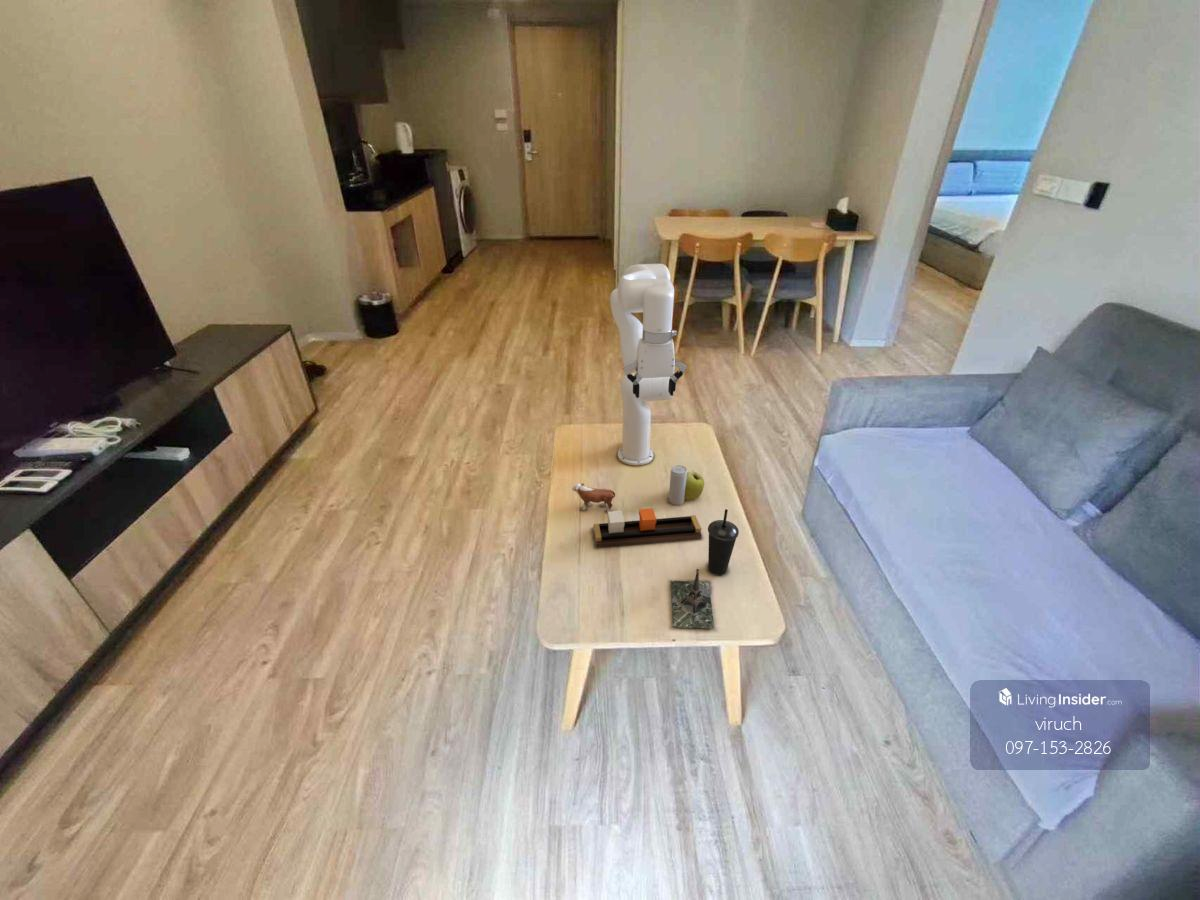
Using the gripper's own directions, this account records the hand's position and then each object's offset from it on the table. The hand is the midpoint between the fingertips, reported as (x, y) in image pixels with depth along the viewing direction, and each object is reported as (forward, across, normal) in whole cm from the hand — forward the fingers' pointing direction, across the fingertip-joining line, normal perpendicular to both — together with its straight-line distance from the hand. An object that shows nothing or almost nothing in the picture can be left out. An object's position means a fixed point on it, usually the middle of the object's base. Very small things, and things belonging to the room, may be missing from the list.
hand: (653, 394), depth 149 cm
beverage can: (+37, -8, +2) cm, 38 cm away
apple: (+36, -14, 0) cm, 39 cm away
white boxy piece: (+35, +13, +16) cm, 40 cm away
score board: (+36, +4, +16) cm, 40 cm away
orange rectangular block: (+35, +4, +16) cm, 38 cm away
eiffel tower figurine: (+37, -2, +43) cm, 57 cm away
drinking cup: (+37, -12, +32) cm, 50 cm away
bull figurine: (+37, +18, +2) cm, 41 cm away
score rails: (+35, +4, +16) cm, 39 cm away
